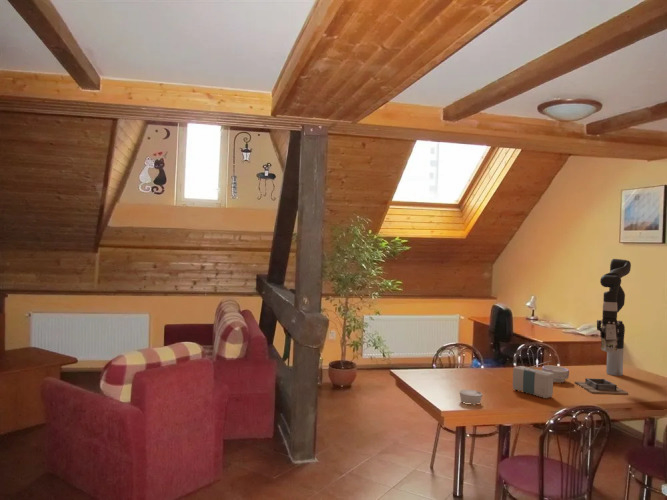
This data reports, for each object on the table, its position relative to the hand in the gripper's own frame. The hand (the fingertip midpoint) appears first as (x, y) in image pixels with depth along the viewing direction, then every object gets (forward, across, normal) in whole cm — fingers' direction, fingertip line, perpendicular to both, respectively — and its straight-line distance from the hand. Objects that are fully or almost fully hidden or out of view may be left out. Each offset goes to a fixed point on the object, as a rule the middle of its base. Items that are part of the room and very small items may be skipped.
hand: (609, 338), depth 309 cm
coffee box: (+7, 0, 0) cm, 8 cm away
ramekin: (+31, +88, +35) cm, 100 cm away
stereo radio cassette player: (+30, +49, +16) cm, 60 cm away
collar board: (+29, +5, +1) cm, 29 cm away
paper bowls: (+29, +25, -14) cm, 40 cm away
